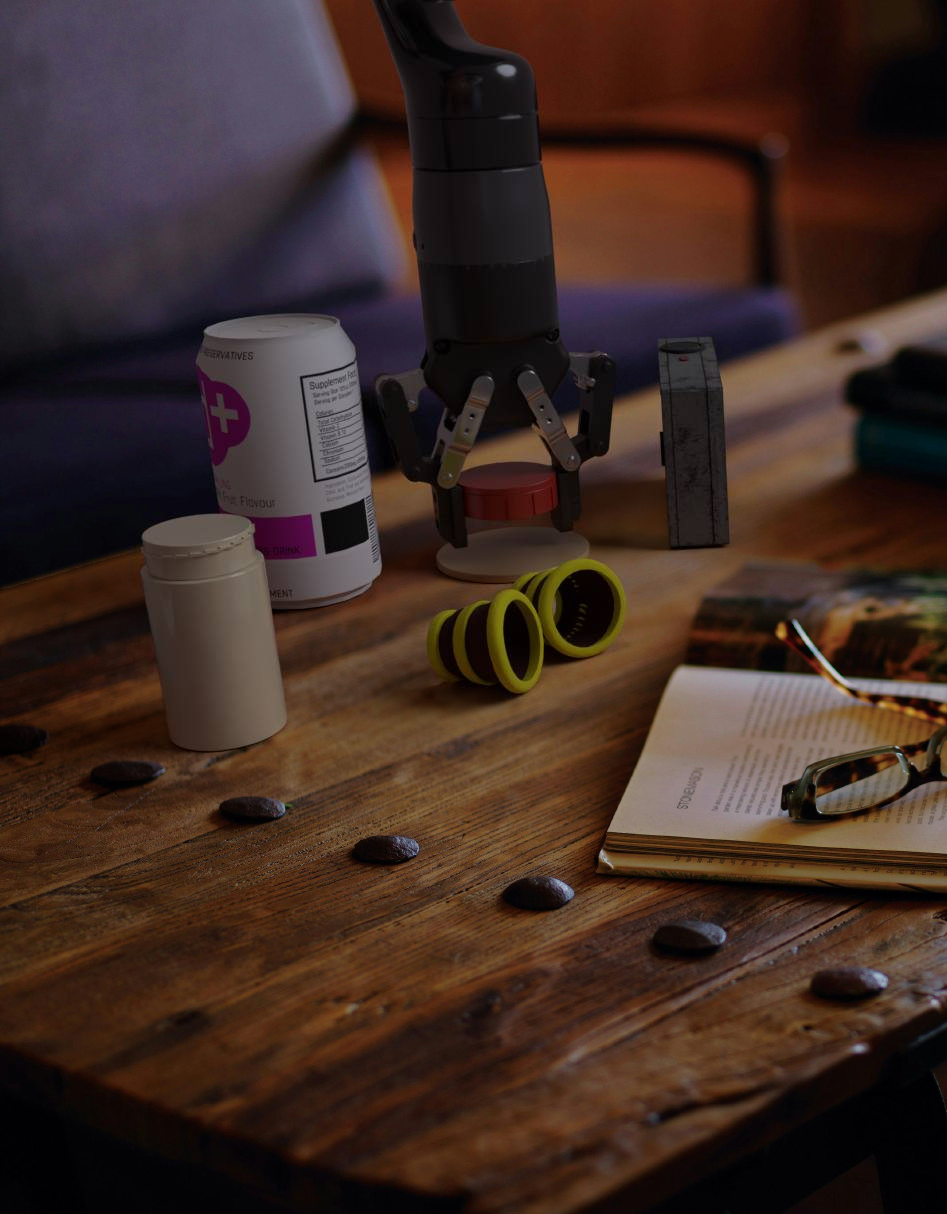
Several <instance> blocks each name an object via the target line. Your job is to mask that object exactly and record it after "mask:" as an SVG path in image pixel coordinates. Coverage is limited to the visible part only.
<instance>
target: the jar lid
mask: <svg viewBox="0 0 947 1214" xmlns="http://www.w3.org/2000/svg"><path fill="white" fill-rule="evenodd" d="M457 484H458V485H459V486H461V487H462V489H463V499H464V509H465V518H469V519H472V520H478V521H487V522H488V521H489V522H490V521H491V522H502V521H515V520H523V519H527V518H533V517H537V516H540V515H544V514H546V513H548V512H551V510H552V509H554V508H555V507H556V506H557V504H558V492H557V480H556V472H555V470H554V469H553V468H552V467H550V466H549V465H548V464H545V463H541V462H532V461H502V462H501V461H500V462H491V463H486V464H481V465H476V466H472V467H469V468H467V469H464V470H462V471H461V474H460V477H459V480H458V483H457Z"/></svg>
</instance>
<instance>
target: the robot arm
mask: <svg viewBox="0 0 947 1214" xmlns="http://www.w3.org/2000/svg"><path fill="white" fill-rule="evenodd" d="M455 1H457V2H458V1H461V0H371V2H372V5H373V7H374V9H375V12H376V15H377V17H378V21H379V23H380V26H381V29H382V32H383V34H384V37H385V40H386V43H387V46H388V49H389V52H390V54H391V57H392V61H393V63H394V66H395V69H396V72H397V75H398V77H399V80H400V84H401V86H402V90H403V95H404V102H405V114H406V116H407V117H406V121H407V129H408V130H407V131H408V140H409V149H410V157H411V166H412V168H411V171H412V195H411V212H412V213H411V214H412V223H413V224H412V225H413V229H412V244H413V248H414V250H415V254H416V263H417V272H418V282H419V290H420V291H419V292H420V299H421V311H422V318H423V328H424V339H425V350H424V354H423V357H422V360H421V361H420V365H419V367H418V368H414V369H412V370H408V371H404V372H401V373H397V374H393V375H391V374H390V373H387V372H379V373H377V374H375V376H374V377H373V379H372V388H373V391H374V395H375V398H376V401H377V405H378V408H379V413H380V416H381V418H382V422H383V425H384V429H385V432H386V436H387V439H388V442H389V447H390V450H391V453H392V457H393V460H394V463H395V466H396V469H398V471H400V473H401V474H402V475H403V476H404V477H405V478H406V479H407V480H408V481H409V482H411V483H425V484H429V485H430V489H431V497H432V505H433V506H432V507H433V516H434V524H435V525H434V527H435V528H436V530H437V532H438V534H439V535H440V536H441V537H442V538H443V540H444V541H445V542H446V541H448V543H450V544H451V545H452V546H453V547H454V548H455V549H459V548H465V547H468V539H467V535H468V532H467V529H468V528H467V521H466V519H467V518H466V517H465V509H464V499H463V489H462V487H461V486H459V485H458V484H457V483H458V480H459V477H460V474H461V472H462V471H463V468H464V464H465V462H466V459H467V457H468V455H469V454H470V453H471V452H472V450H473V448H474V444H475V443H476V442H475V441H476V439H477V436H478V433H479V434H482V433H490V432H494V431H497V430H499V429H501V428H504V427H511V428H519V429H521V428H526V427H527V428H528V427H531V428H532V429H533V431H534V432H535V433H536V435H537V436H538V438H539V440H540V441H541V443H542V445H543V446H544V449H545V450H546V452H547V455H548V456H549V457H550V462H551V464H549V465H548V466H550V467H552V468H553V469H554V470H555V472H556V480H557V492H558V504H557V506H556V507H555V508H554V509H552V510H550V521H551V524H552V526H553V528H556V529H557V530H558V531H559V532H560V533H563V532H569V531H572V532H574V522H577V521H580V519H581V516H582V512H583V511H582V499H581V486H580V469H581V467H582V465H584V464H585V463H586V462H587V461H589V460H591V459H593V458H594V457H597V458H601V457H604V456H605V455H607V454H608V452H609V450H610V442H611V432H612V431H611V430H612V420H613V411H614V410H613V409H614V400H615V399H614V397H615V388H616V387H615V386H616V377H617V362H616V361H615V359H614V358H613V357H611V356H609V355H608V354H607V353H605V352H603V351H601V350H598V349H596V348H595V349H594V348H591V349H589V350H587V351H586V352H579V351H568V349H567V348H566V346H565V345H564V343H563V341H562V338H561V334H560V333H561V332H560V316H559V314H560V313H559V301H558V289H557V276H556V264H555V250H554V236H553V227H552V226H553V225H552V223H553V222H552V212H551V211H552V210H551V204H550V198H549V192H548V188H547V182H546V179H545V174H544V166H543V165H544V164H543V163H542V161H543V154H542V153H543V152H542V142H541V129H540V128H541V127H540V116H539V115H540V114H539V103H538V102H539V101H538V93H537V83H536V82H537V81H536V78H535V73H534V71H533V67H532V65H531V64H530V62H529V61H528V60H527V58H525V57H523V55H521V54H519V53H516V52H513V51H511V50H508V49H503V48H499V47H495V46H489V45H486V44H483V43H481V42H479V41H477V40H474V39H473V38H472V37H471V35H469V33H468V31H467V30H466V27H465V26H464V25H463V22H462V21H461V20H462V19H460V16H459V14H458V11H457V9H456V7H455V4H454V2H455ZM569 371H570V372H571V373H572V378H573V382H574V384H575V385H576V386H577V387H579V388H580V398H579V399H580V401H579V409H578V410H579V411H578V423H577V424H578V425H577V434H576V435H574V436H572V437H570V436H569V434H568V431H567V428H566V426H565V424H564V422H563V420H562V419H561V417H560V415H559V413H558V411H557V409H556V408H555V406H554V404H553V403H552V400H553V399H554V397H555V395H556V393H557V392H558V390H559V388H560V386H561V384H562V383H563V381H564V379H565V377H566V376H567V374H568V373H569ZM425 388H427V389H428V390H429V391H430V392H431V393H432V394H433V395H434V396H435V397H436V398H437V400H439V402H440V403H441V404H442V405H443V406H444V410H443V413H442V416H441V418H440V422H439V425H438V428H437V432H436V442H435V444H434V448H433V451H432V453H431V456H430V457H427V456H423V455H422V454H423V453H422V450H421V447H420V444H419V440H418V437H417V432H416V429H415V426H414V423H413V422H414V421H413V419H412V416H411V413H413V412H415V411H416V410H417V409H418V407H419V405H420V393H421V392H422V390H424V389H425Z"/></svg>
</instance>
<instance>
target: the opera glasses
mask: <svg viewBox="0 0 947 1214" xmlns="http://www.w3.org/2000/svg"><path fill="white" fill-rule="evenodd" d="M554 600H555V610H554V614H553V603H554ZM626 613H627V597H626V593H625V588H624V587H623V585H622V582H621V580H620V579H619V577H618V576H617V575H616V573H615V572H614V571H613V570H612V569H610V568H609V567H608V566H607V565H606V564H604V563H602V562H600V561H597V560H595V559H591V558H587V559H574V560H571V561H568V562H565V563H563V564H562V565H560V566H559V567H557V568H552V569H549V570H547V571H544V572H542V573H539V572H533V573H528V574H525V575H523V576H521V577H520V578H519V579H517V580H516V581H515V582H513V584H512V585H511V587H510V589H502V590H501V591H500V592H498V593H497V594H495V596H494V598H493V599H492V600H491V601H490V600H480V601H477V602H474V603H471V604H468V605H467V606H465V607H462V608H459V609H446V610H443V611H440V612H438V613H437V614H436V615H435V616H434V617H433V618H432V620H431V622H430V624H429V626H428V630H427V634H426V653H427V658H428V660H429V664H430V666H431V668H432V670H433V671H434V673H435V674H436V675H437V676H438V677H439V678H441V679H442V680H444V681H446V682H459V681H462V680H463V681H467V682H471V683H475V684H477V685H484V686H494V685H496V684H501V685H502V686H503V688H505V689H506V690H508V691H509V692H511V693H514V694H524V693H527V692H528V691H531V689H532V688H533V687H535V685H536V684H537V682H538V680H539V677H540V675H541V672H542V667H543V661H544V651H545V650H544V647H545V645H548V646H550V647H553V649H555V650H556V651H558V652H559V653H561V654H563V655H564V656H567V657H571V658H577V659H580V658H581V659H582V658H589V657H593V656H596V655H598V654H600V653H603V651H605V650H607V648H609V646H611V644H612V643H614V641H615V640H616V639H617V637H618V636H619V634H620V633H621V631H622V628H623V625H624V623H625V619H626ZM544 644H545V645H544Z"/></svg>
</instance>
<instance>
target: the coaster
mask: <svg viewBox="0 0 947 1214" xmlns="http://www.w3.org/2000/svg"><path fill="white" fill-rule="evenodd" d="M467 539H468V547H465V548H459V549H455V548H454V547H453V546H452V545H451V544H450V543H449V542H448V543H446V544H444V545H443V546H442V547H441V548H439V549H438V551H437V553H436V556H435V559H436V566H437V568H438V570H439V571H440V572H442V573H443V574H444V575H446V576H448V577H451V578H453V579H457V580H461V581H466V582H474V583H484V584H485V583H487V584H507V583H509V584H510V583H515V581H516V580H517V579H519V578H520V577H521V576H523V575H525V574H528V573H533V572H539V573H542V572H544V571H547V570H549V569H552V568H557V567H559V566H560V565H562V564H563V563H565V562H568V561H571V560H574V559H589V557H590V554H591V550H590V549H591V547H590V542H589V540H588V539H587V538H586V537H585V536H583V535H581V533H580V534H579V533H577V532H575V531H569V532H563V533H560V532H559V531H558V530H557V529H556V528H555V527H548V526H512V527H500V528H495V529H487V530H482V531H478V532H473V533H471V534H467Z"/></svg>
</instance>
